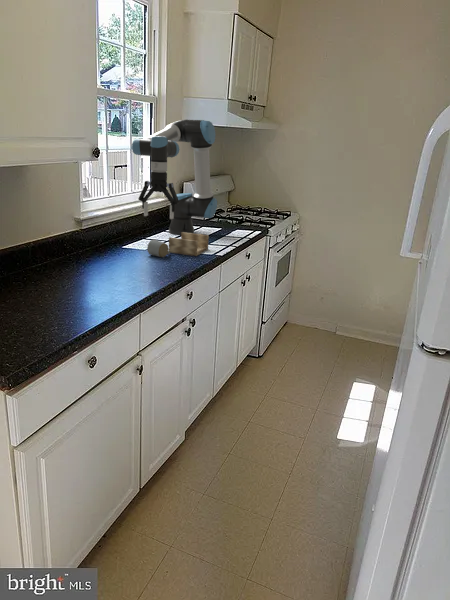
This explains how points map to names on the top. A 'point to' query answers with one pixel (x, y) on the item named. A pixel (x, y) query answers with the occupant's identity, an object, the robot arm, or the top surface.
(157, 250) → the ceramic mug
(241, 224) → the top surface
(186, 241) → the holder
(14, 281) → the top surface
